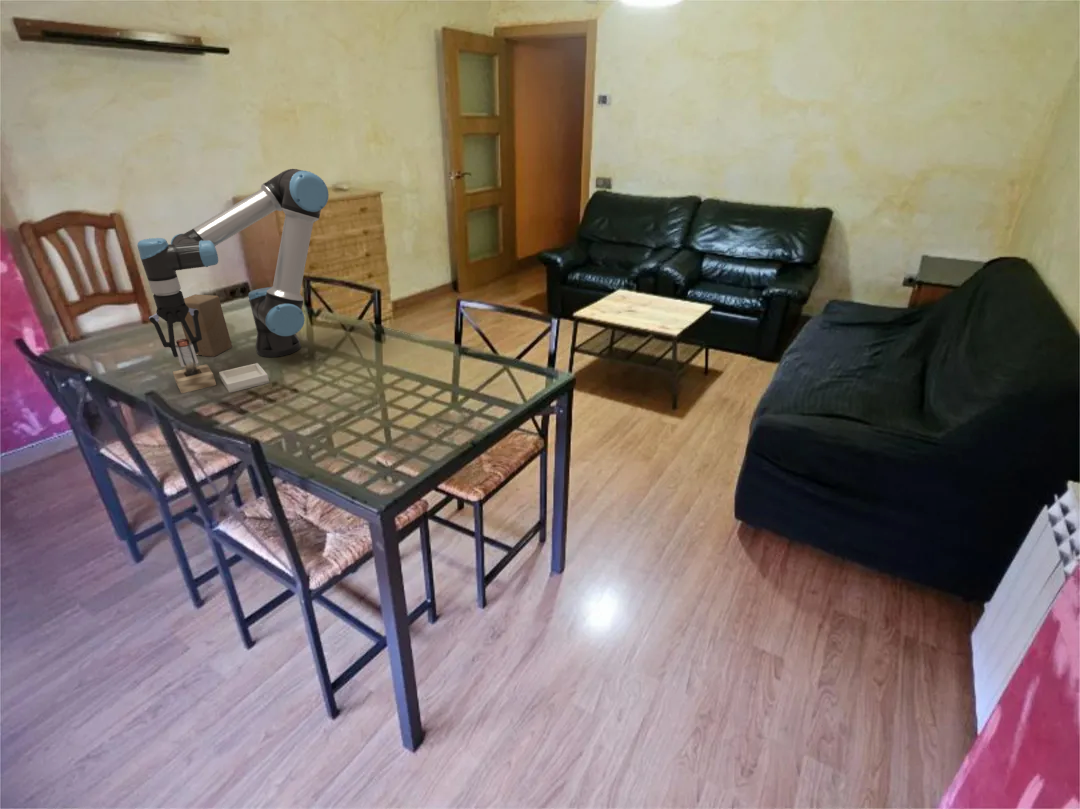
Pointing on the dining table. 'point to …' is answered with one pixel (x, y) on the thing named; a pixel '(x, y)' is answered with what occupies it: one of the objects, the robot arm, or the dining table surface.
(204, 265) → the robot arm
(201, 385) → the block
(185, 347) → the pin
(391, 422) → the dining table surface
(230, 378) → the tray
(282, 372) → the dining table surface
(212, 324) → the wooden block
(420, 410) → the dining table surface
